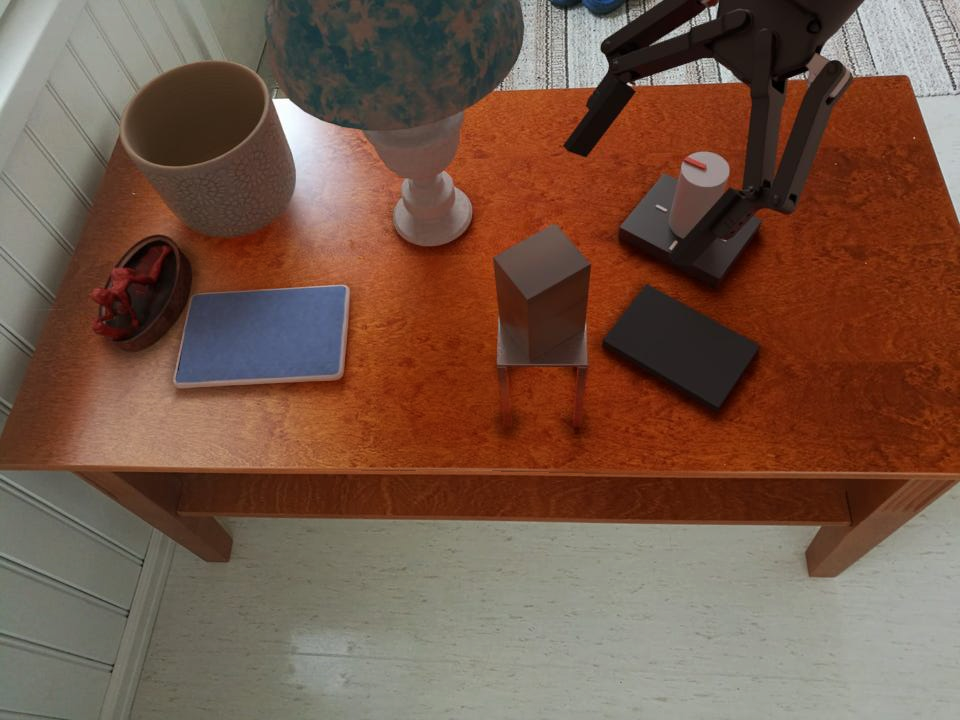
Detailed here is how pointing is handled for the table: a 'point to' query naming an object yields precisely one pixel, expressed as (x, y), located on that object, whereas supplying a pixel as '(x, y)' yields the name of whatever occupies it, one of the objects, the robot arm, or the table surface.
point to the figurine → (143, 294)
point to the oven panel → (657, 238)
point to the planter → (211, 147)
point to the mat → (681, 347)
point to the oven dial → (697, 190)
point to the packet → (542, 291)
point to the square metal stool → (559, 356)
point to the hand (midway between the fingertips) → (623, 204)
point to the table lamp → (399, 85)
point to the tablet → (264, 337)
